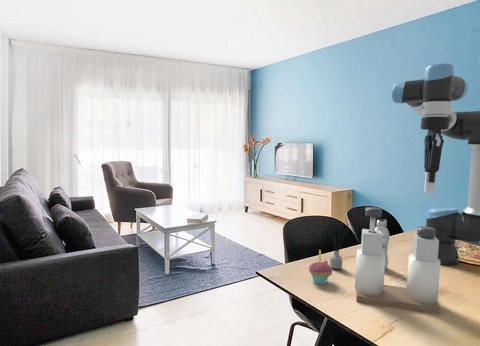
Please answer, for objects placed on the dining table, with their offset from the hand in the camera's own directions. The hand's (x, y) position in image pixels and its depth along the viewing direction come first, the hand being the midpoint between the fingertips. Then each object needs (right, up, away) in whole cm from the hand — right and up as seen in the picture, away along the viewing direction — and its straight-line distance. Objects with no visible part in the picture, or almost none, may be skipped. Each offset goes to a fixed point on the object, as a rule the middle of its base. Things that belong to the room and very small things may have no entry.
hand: (429, 192), depth 106 cm
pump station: (-8, -36, +6) cm, 37 cm away
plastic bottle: (-2, -33, +33) cm, 47 cm away
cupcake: (-30, -34, +19) cm, 49 cm away
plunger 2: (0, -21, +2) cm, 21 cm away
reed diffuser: (-21, -33, +31) cm, 50 cm away
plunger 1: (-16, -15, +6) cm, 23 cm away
